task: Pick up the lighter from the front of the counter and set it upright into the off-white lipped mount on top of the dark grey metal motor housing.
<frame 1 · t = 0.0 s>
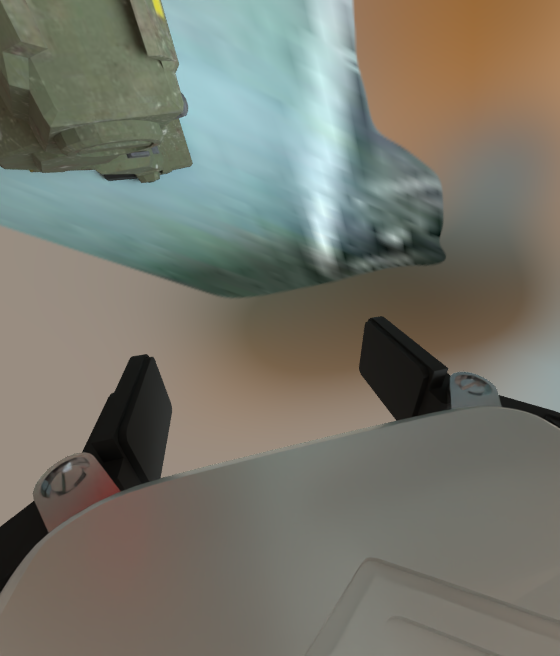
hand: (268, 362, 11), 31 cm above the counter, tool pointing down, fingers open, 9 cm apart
mechanical leg: (149, 146, 31), on the counter
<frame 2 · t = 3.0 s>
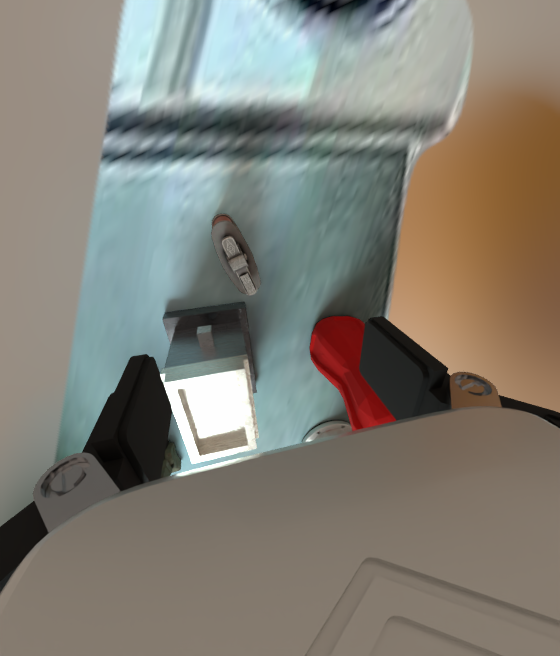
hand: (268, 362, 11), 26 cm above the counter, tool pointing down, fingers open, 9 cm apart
mechanical leg: (158, 451, 48), on the counter
water bottle: (334, 332, 44), on the counter
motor: (215, 353, 40), on the counter
lighter: (232, 245, 33), on the counter
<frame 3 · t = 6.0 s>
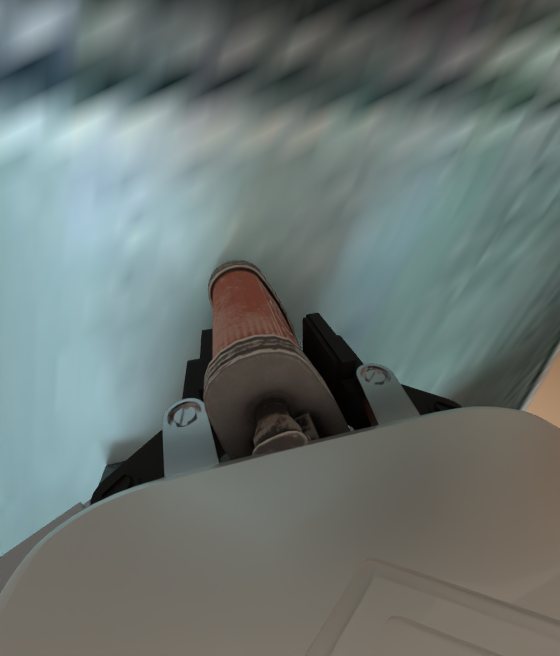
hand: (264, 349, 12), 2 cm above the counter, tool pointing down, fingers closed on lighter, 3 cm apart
lighter: (259, 328, 14), on the counter, touching gripper
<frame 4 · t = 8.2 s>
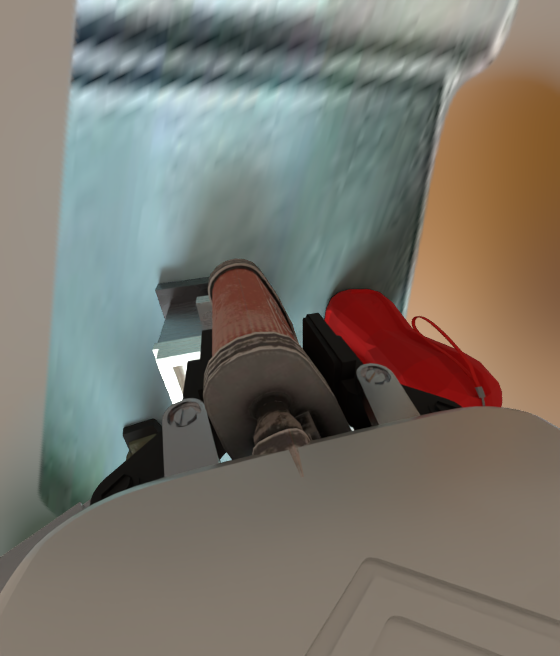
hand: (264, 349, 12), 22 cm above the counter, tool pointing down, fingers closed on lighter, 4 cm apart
mechanical leg: (156, 444, 44), on the counter
water bottle: (350, 309, 39), on the counter
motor: (217, 332, 36), on the counter
lighter: (258, 327, 14), point 20 cm above the counter, touching gripper
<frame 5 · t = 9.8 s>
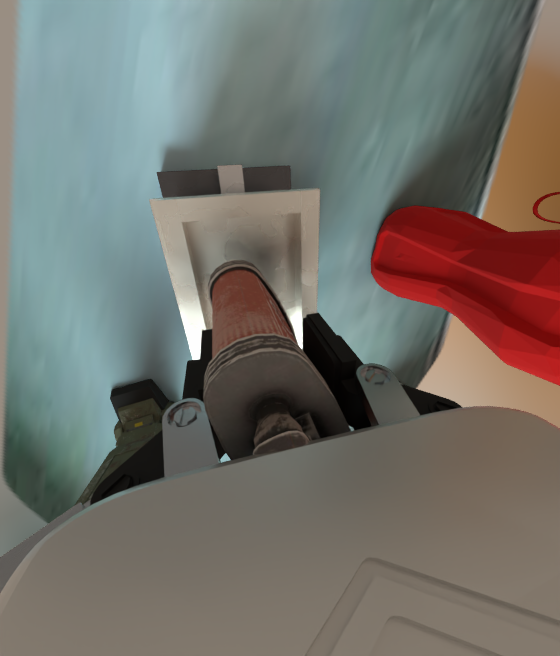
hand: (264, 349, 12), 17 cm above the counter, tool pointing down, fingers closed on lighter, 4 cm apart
mechanical leg: (153, 416, 35), on the counter
water bottle: (405, 240, 31), on the counter
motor: (237, 258, 27), on the counter
lighter: (258, 328, 14), point 15 cm above the counter, touching gripper
when the fingers open (16 cm above the counter, at t = 10.4 s): lighter drops 2 cm, resting on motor.
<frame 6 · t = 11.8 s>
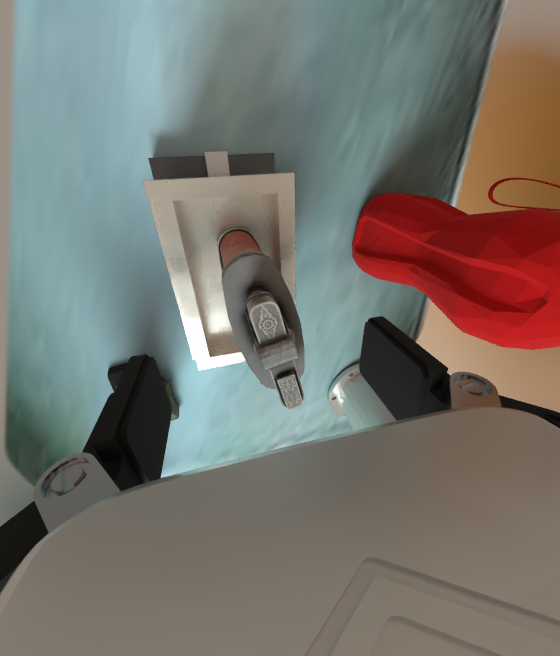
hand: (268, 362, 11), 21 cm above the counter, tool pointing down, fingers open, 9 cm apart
mechanical leg: (149, 394, 37), on the counter
water bottle: (384, 225, 33), on the counter
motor: (226, 242, 29), on the counter
lighter: (248, 280, 19), point 12 cm above the counter, touching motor
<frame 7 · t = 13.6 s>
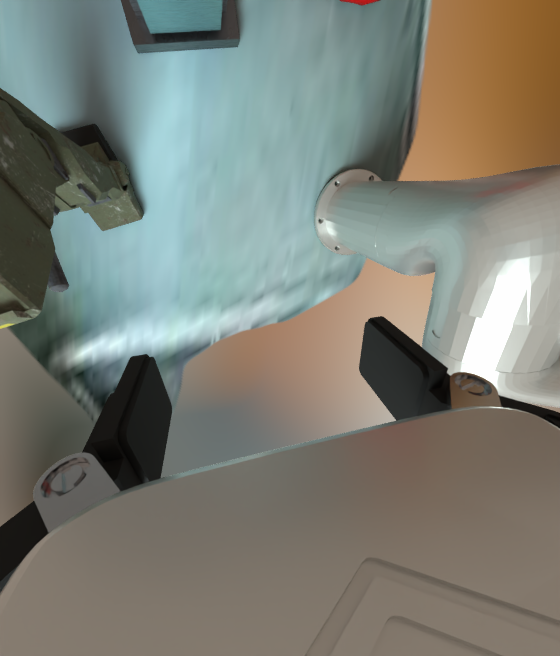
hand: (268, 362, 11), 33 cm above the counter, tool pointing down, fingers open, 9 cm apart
mechanical leg: (107, 187, 33), on the counter
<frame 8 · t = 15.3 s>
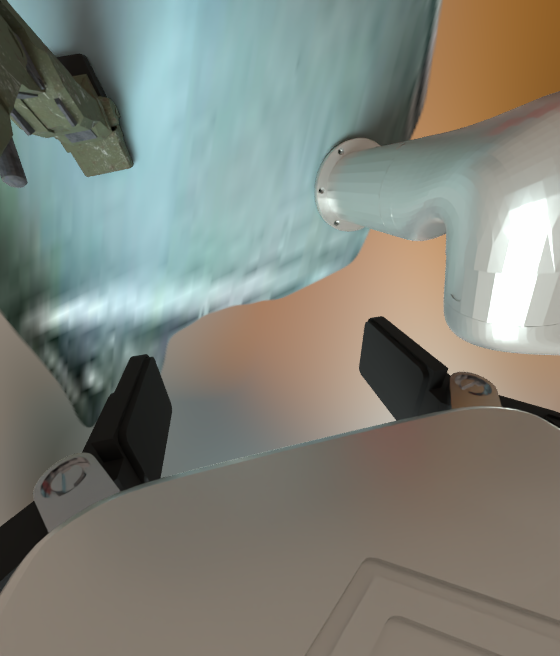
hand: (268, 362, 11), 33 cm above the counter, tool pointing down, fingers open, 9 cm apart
mechanical leg: (94, 130, 31), on the counter
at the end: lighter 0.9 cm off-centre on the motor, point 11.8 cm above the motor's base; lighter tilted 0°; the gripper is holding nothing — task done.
